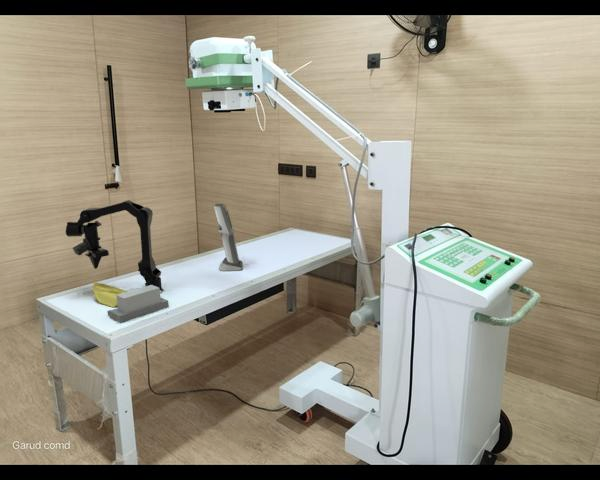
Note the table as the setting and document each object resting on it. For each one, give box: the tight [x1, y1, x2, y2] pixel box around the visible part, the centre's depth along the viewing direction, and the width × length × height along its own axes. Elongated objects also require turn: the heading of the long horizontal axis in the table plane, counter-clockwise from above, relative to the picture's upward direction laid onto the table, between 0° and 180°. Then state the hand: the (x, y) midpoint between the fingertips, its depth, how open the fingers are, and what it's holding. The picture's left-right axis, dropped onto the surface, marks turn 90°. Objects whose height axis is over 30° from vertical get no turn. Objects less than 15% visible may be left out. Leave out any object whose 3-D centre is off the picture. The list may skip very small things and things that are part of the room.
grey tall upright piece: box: [213, 203, 244, 272], centre depth 255 cm, size 12×13×35 cm
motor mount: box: [106, 285, 170, 324], centre depth 200 cm, size 22×12×9 cm, turn 137°
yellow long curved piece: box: [92, 282, 128, 308], centre depth 215 cm, size 20×7×10 cm
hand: (95, 268), depth 223 cm, fingers closed
